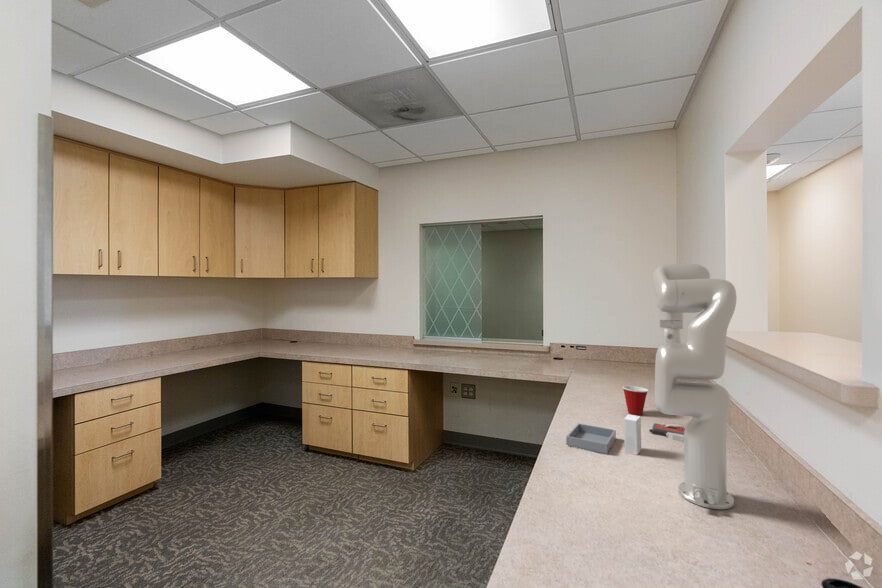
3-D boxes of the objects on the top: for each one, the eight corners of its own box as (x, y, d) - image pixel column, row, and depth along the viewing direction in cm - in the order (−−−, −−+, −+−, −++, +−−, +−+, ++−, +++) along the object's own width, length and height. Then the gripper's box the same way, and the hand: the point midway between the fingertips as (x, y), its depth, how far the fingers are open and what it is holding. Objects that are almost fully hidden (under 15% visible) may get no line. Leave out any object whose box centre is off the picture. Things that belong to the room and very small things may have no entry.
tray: (607, 454, 132) (606, 444, 132) (566, 445, 140) (566, 436, 140) (615, 439, 145) (615, 430, 145) (578, 431, 153) (578, 423, 153)
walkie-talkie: (648, 435, 149) (710, 448, 137) (647, 424, 149) (710, 435, 136) (651, 429, 156) (711, 440, 144) (651, 418, 156) (711, 428, 143)
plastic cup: (654, 415, 170) (654, 389, 170) (637, 419, 166) (636, 391, 166) (634, 408, 180) (634, 383, 180) (617, 411, 176) (616, 386, 176)
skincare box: (628, 446, 138) (628, 413, 138) (641, 449, 135) (641, 416, 135) (624, 452, 133) (623, 418, 133) (637, 455, 131) (637, 420, 131)
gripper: (681, 327, 135) (682, 375, 135) (683, 323, 149) (684, 366, 149) (657, 326, 139) (658, 372, 139) (661, 322, 153) (662, 364, 154)
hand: (671, 369), depth 144 cm, fingers open, 9 cm apart
